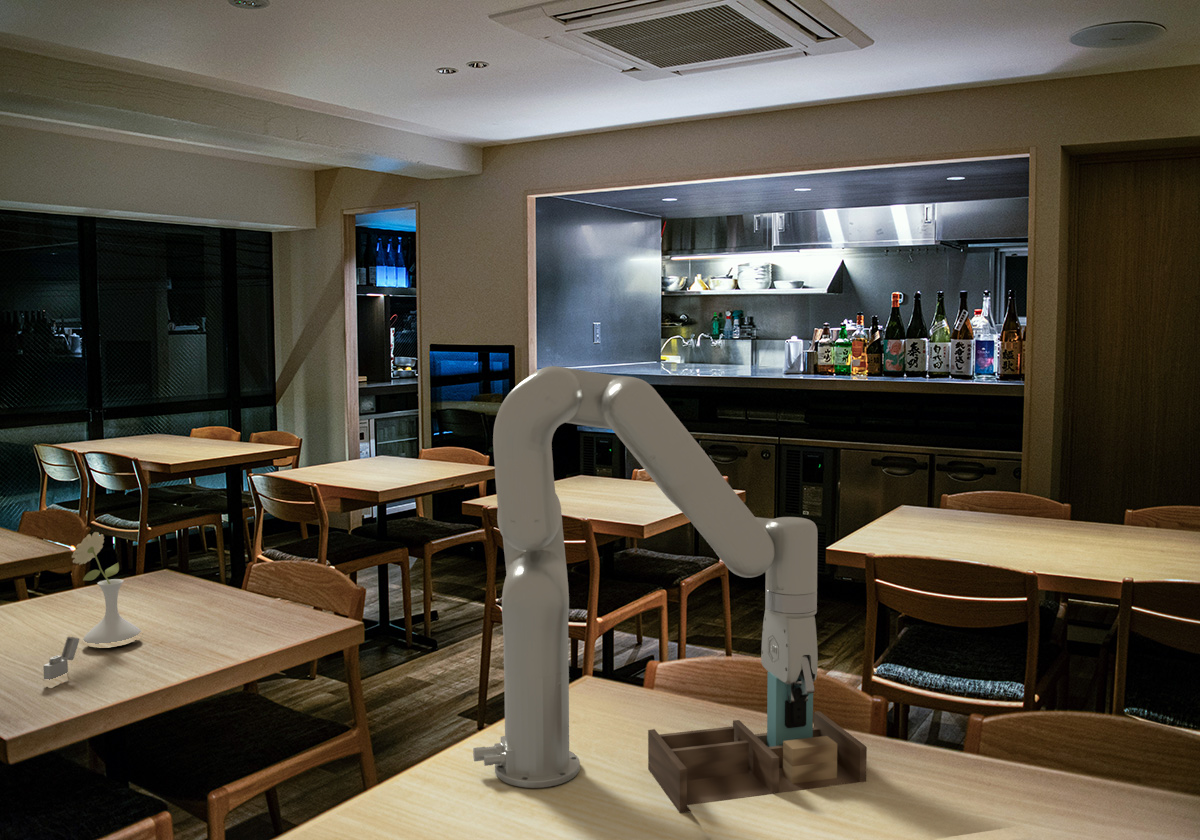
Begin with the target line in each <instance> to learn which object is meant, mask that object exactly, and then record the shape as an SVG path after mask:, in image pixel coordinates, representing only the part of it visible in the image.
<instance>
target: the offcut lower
mask: <svg viewBox="0 0 1200 840" xmlns="http://www.w3.org/2000/svg"><path fill="white" fill-rule="evenodd" d="M783 775H784V776H785V777H786V778H787V779H788V780H789V781H790V782H791V783H792V784H794V783H802V782H810V781H817V780H825V779H833V778H837V761H833V762H825V763H817V764H809V765H801V766H793V767H792V766H791V765H790V764H789V763H788V762H787V761H786V760H785V759H784V758H783Z"/></svg>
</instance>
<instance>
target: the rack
mask: <svg viewBox="0 0 1200 840" xmlns="http://www.w3.org/2000/svg"><path fill="white" fill-rule="evenodd" d="M647 731H648V732H647V738H648V739H647V742H648V743H647V744H648V745H647V751H648V752H647V754H648V755H647V756H648V759H647V764H648V765H647V766H648V767H647V768H648V771H649V772H650V774H651V775H652V777H653V778H654V779H655V781H656V782H657V784H658V785H659V787H660V788H661V789H662V790H663V791H664V793H665V795H666V796H667V797H668V799H669V800H670V801H671V803H672V804H673V806H674V808H676V810H677V811H678V813H679V814H682V813H683V814H684V813H688V812H689V813H690V812H692V810H691V809H690V807H689V806H690V805H698V804H699V805H700V804H705V803H714V802H720V801H721V802H722V801H728V800H736V799H737V800H738V799H743V798H744V799H745V798H751V797H759V796H766V795H773V794H774V795H775V794H781V793H789V792H790V793H791V792H796V791H804V790H812V789H819V788H826V787H835V786H843V785H849V784H856V783H864V782H867V757H868V756H867V754H868V753H867V752H868V751H867V749H868V748H867V746H866V744H864V743H862V742H861V741H859V739H857V738H856V737H854V736H853V735H852V734H850V733H849V731H847V730H845V729H844V728H843V727H841V726H840V725H839V724H837V723H836V722H835V721H833V720H832V719H830V718H829V717H828V716H827V715H825V714H824V713H823V712H821V711H820V710H818V711H817V710H815V711H813V737H821V736H828V737H829V738H831V739H832V740H833V741H834V742H836V743H837V778H833V779H825V780H817V781H810V782H802V783H794V784H792V783H791V782H790V781H789V780H788V779H787V778H786V777H785V776H784V775H783V745H780V746H772V747H767V732H763V733H753V731H752V730H750V728H748V727H747V725H745V724H744V723H743V722H742V721H741V720H739V719H736V720H734V719H733V721H732V725H731V726H724V727H715V728H706V729H696V730H687V731H680V732H679V731H678V732H670V733H669V732H668V733H662V734H659V733H658V731H657V730H656V729H655V728H653V729H648V730H647Z"/></svg>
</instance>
